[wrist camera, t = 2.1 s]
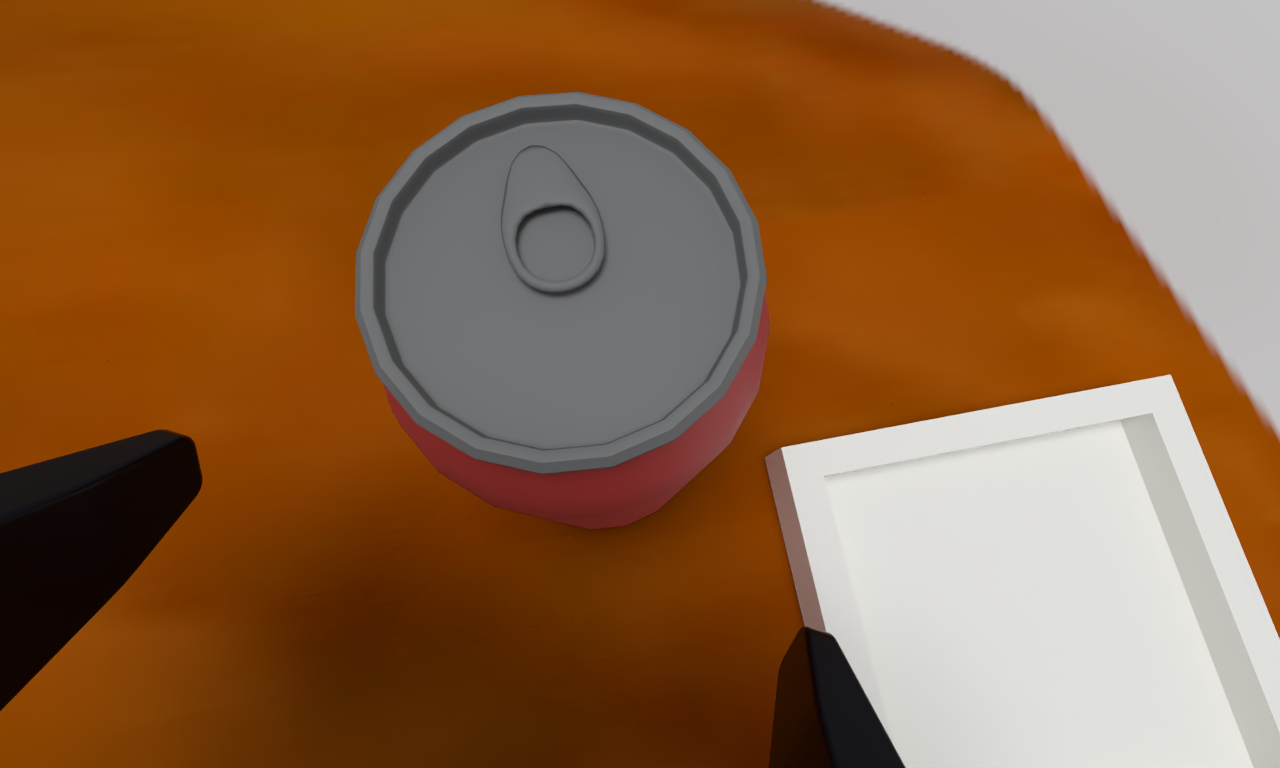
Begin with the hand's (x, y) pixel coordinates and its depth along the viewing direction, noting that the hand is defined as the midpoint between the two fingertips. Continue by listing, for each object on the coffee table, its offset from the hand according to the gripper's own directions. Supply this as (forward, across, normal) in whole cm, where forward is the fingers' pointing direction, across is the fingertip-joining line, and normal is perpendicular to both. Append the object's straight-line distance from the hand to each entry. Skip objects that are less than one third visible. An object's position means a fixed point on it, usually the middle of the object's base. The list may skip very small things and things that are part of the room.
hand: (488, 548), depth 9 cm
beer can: (+10, 0, +5) cm, 11 cm away
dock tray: (+9, -13, +6) cm, 17 cm away
